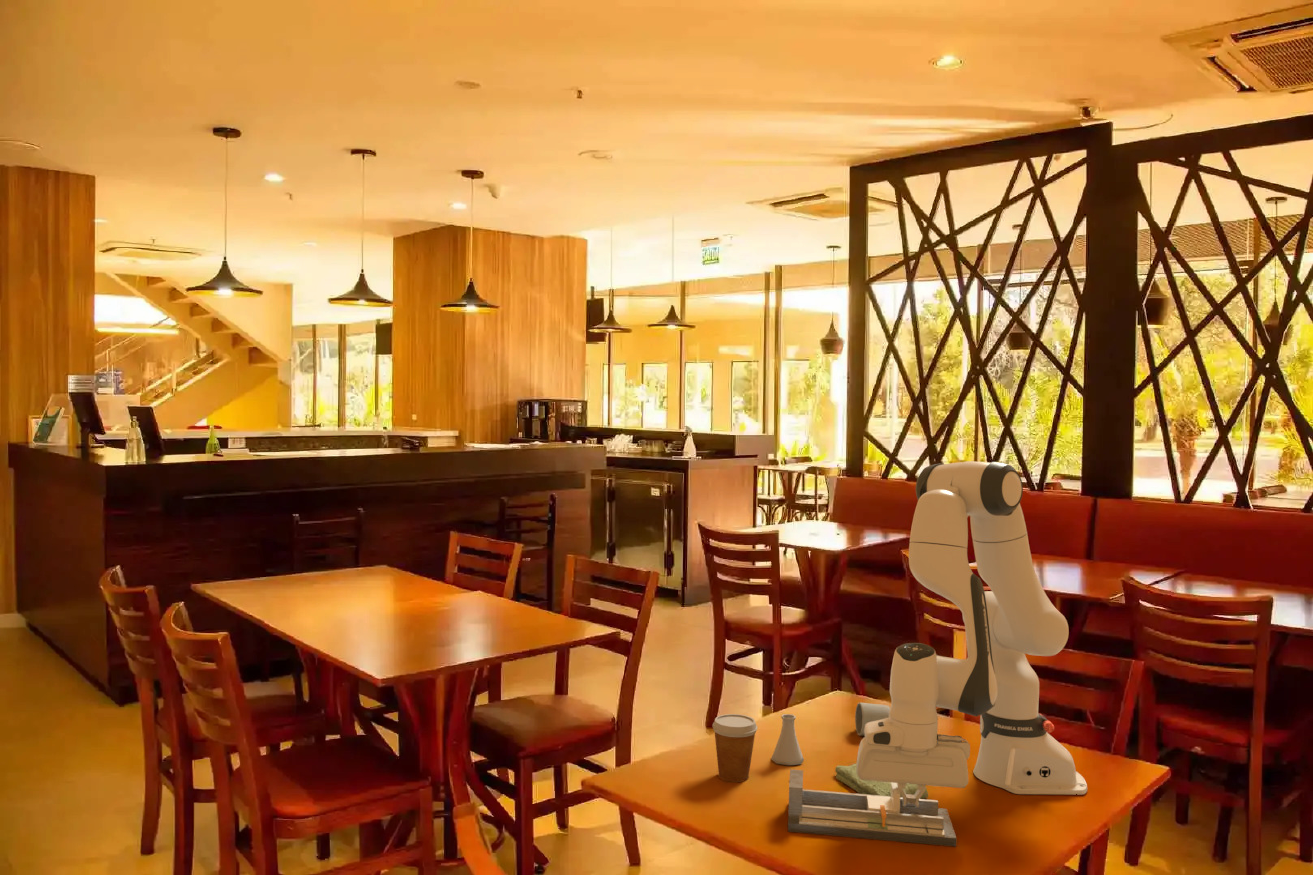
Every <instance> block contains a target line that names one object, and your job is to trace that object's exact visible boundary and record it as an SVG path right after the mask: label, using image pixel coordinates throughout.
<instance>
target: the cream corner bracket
mask: <svg viewBox="0 0 1313 875" xmlns="http://www.w3.org/2000/svg"><path fill="white" fill-rule="evenodd" d="M867 811H879V812H881V816H882V827H885V818H886V812H890V813H900V791H899V789H898V786H897V783H893V782H891V797H880V796H868V795H867Z"/></svg>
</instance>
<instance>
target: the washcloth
mask: <svg viewBox="0 0 1313 875" xmlns="http://www.w3.org/2000/svg"><path fill="white" fill-rule="evenodd" d="M856 765H857V763H853V764H851V765H848V766H847V765H842V764H841V765H837V766H835V769H834V770H835V771H834V772H835V773H836V775H835V778H836V780H838V781H839V782H841V783H843V784H844V785H846V786H847V787H849V788H850V789H852V790H854V791H856V792H857V793H858V794H866V795H878V796H890V797H891V782H880V781H868V780H861V779H860V778H859V777H858V775H857V772H856ZM917 790H918V788H917V784H906V788H905V789H904V791H905V793H906V794H909V795H914V794H915V793H916V791H917ZM900 797H902V795H901V793H900ZM928 797H929V792H928V790H927V787H925V792H924V793H923V795H922V796H921V798H920V799H927V798H928ZM902 798H903V797H902Z"/></svg>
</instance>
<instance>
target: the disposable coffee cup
mask: <svg viewBox="0 0 1313 875" xmlns="http://www.w3.org/2000/svg"><path fill="white" fill-rule="evenodd" d="M756 722H757V721H756V720H755V718H753V717H751V716H748V715H745V714H744V715H743V714H738V713H727V714H720V715H718V716H716V717H714V721H713V723H712V725H711V726H712V729H713V732H714V737H715V739H714V740H715V750H716V758H717V760H716V761H717V769H718V777H719V778H720V779H721V780H723V781H726V782H732V783H741V782H745V781H746V780H748V779H749V777H750V769H751V762H752V756H753V749H754V744H755V743H754V742H755V737H756V733H757V731H758V726H757V723H756Z"/></svg>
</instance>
